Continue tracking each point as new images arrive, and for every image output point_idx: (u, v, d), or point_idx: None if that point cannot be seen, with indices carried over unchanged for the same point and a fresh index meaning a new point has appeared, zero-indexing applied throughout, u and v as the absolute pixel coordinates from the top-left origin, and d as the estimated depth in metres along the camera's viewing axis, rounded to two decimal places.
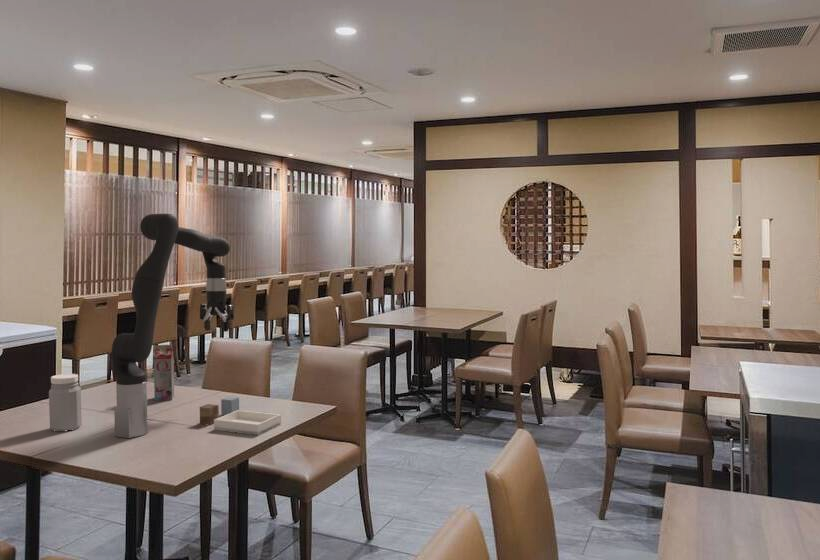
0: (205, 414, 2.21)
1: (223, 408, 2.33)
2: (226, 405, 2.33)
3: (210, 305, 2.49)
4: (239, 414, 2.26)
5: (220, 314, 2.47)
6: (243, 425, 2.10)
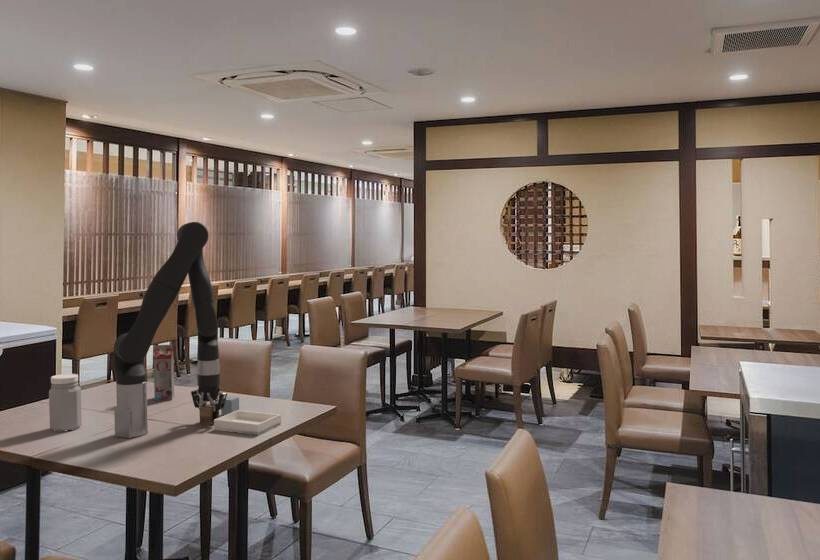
0: (205, 414, 2.21)
1: (223, 408, 2.33)
2: (226, 405, 2.33)
3: (202, 390, 2.23)
4: (239, 414, 2.26)
5: (211, 402, 2.21)
6: (243, 425, 2.10)
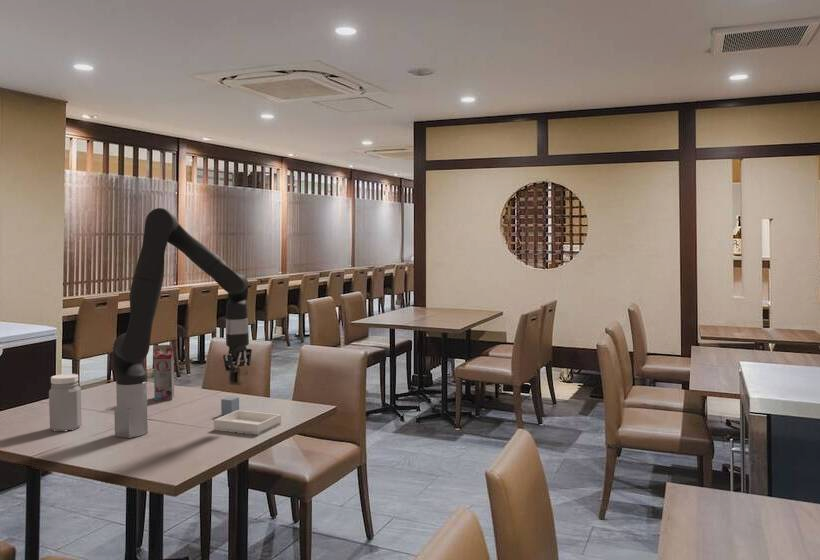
0: None
1: (223, 408, 2.33)
2: (226, 405, 2.33)
3: None
4: (239, 414, 2.26)
5: None
6: (243, 425, 2.10)
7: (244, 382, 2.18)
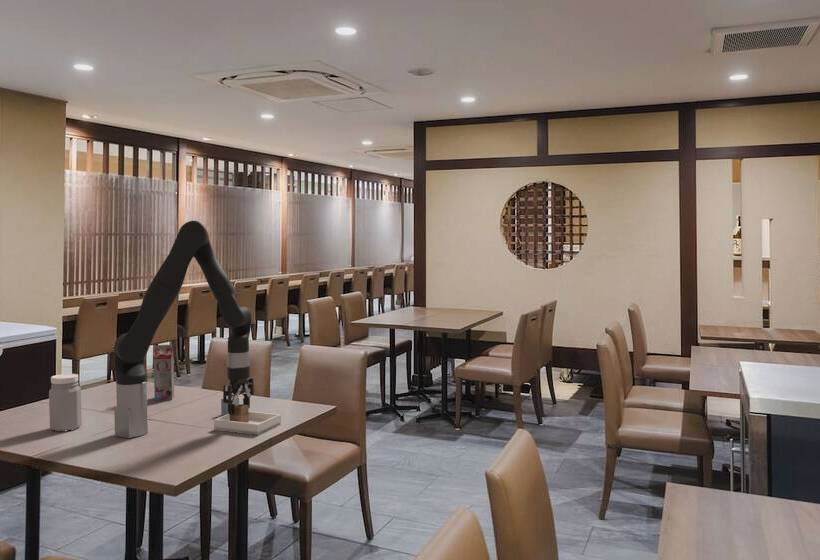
0: None
1: (223, 408, 2.33)
2: (226, 405, 2.33)
3: None
4: None
5: None
6: (243, 425, 2.10)
7: (245, 422, 2.19)
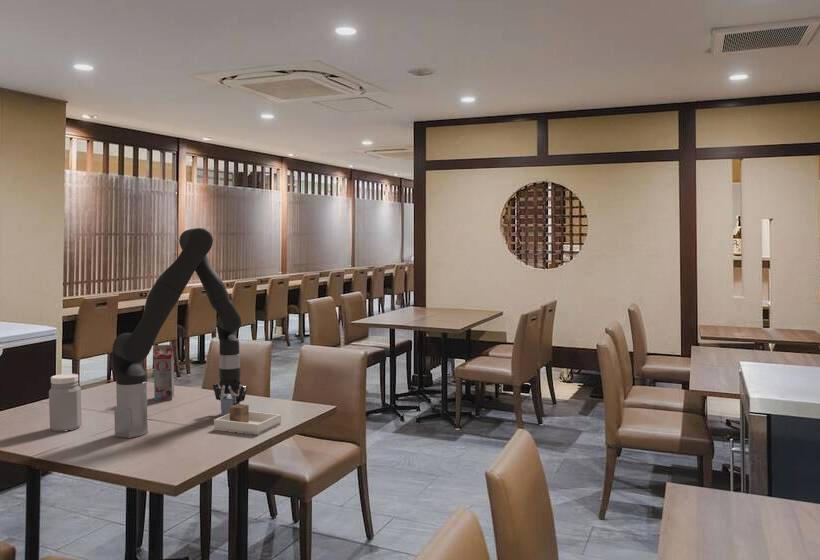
0: None
1: (223, 408, 2.33)
2: (226, 405, 2.33)
3: (223, 383, 2.34)
4: None
5: (232, 394, 2.32)
6: (243, 425, 2.10)
7: (245, 422, 2.19)
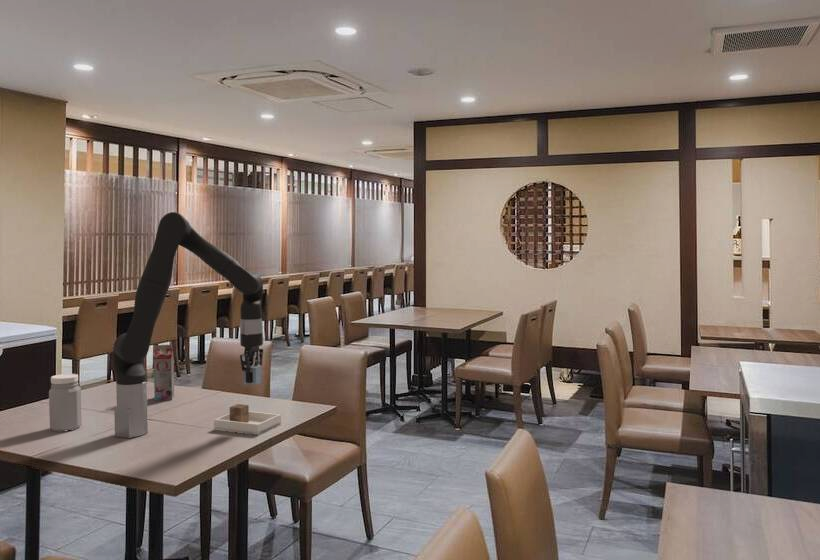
0: None
1: None
2: None
3: None
4: None
5: None
6: (243, 425, 2.10)
7: (245, 422, 2.19)
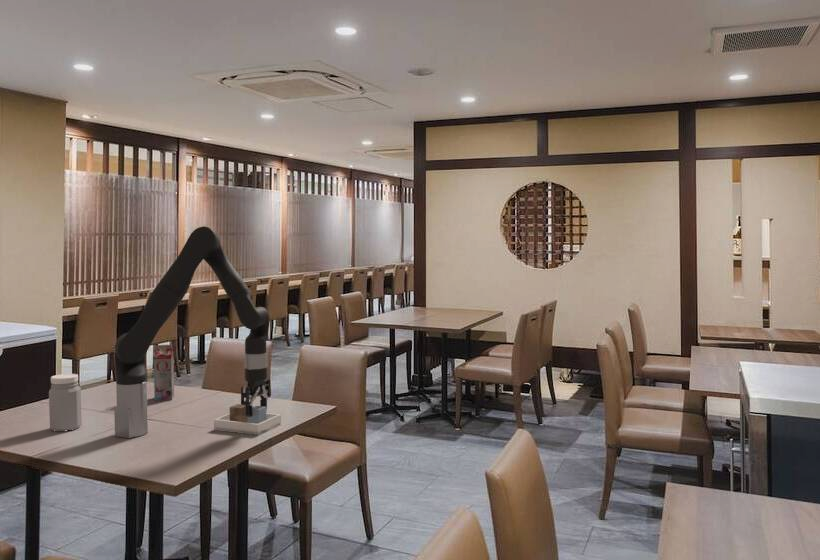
0: None
1: None
2: None
3: None
4: None
5: None
6: (243, 425, 2.10)
7: (245, 422, 2.19)
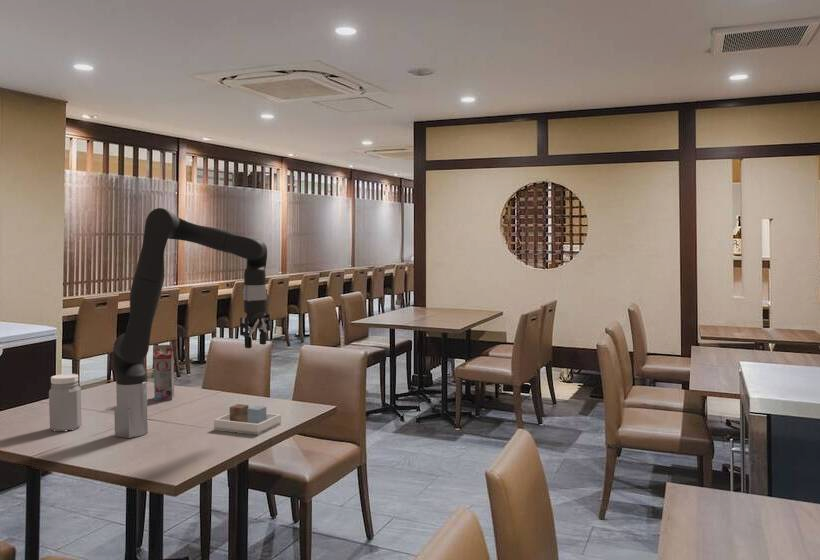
0: None
1: None
2: None
3: None
4: None
5: None
6: (243, 425, 2.10)
7: (245, 422, 2.19)
